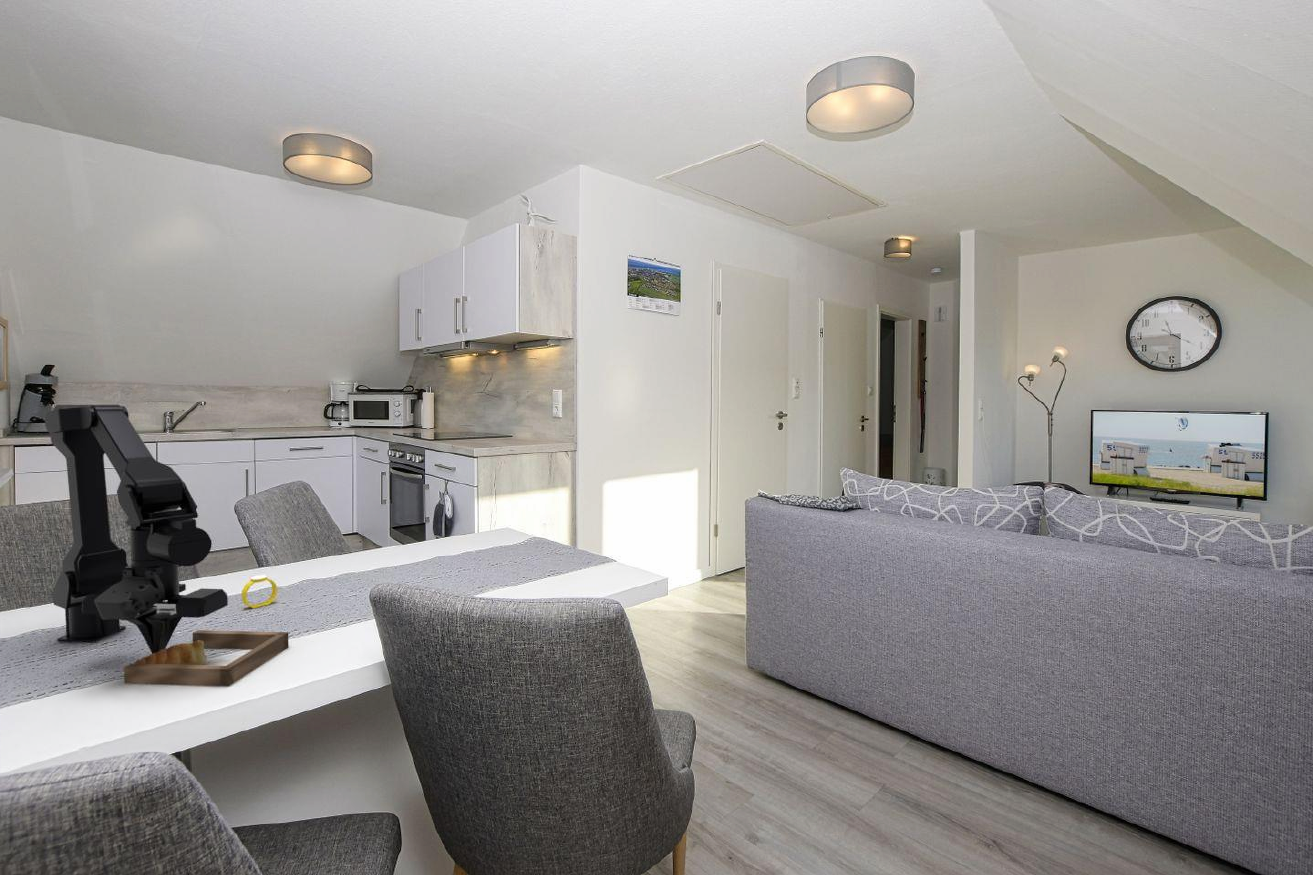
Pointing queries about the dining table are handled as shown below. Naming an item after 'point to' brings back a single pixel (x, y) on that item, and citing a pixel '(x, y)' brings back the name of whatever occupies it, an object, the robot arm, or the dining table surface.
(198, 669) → the frame
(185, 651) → the pastry
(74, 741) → the dining table surface
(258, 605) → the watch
